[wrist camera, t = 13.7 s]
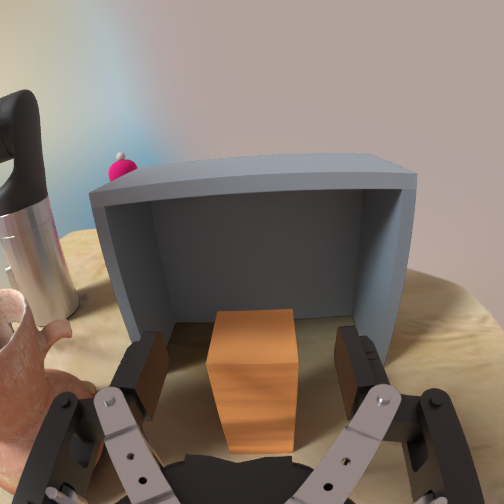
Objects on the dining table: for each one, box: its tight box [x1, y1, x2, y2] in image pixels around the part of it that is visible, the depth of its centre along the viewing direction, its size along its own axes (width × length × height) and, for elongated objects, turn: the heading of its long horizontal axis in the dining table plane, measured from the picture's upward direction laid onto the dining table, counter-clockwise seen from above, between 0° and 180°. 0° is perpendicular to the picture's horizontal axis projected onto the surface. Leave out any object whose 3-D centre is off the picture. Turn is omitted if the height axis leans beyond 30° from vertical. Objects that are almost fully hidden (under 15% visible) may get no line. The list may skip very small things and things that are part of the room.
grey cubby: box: [89, 153, 417, 367], centre depth 29 cm, size 11×24×19 cm, turn 88°
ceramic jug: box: [0, 289, 104, 495], centre depth 15 cm, size 18×14×14 cm
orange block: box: [206, 309, 299, 454], centre depth 20 cm, size 5×5×11 cm
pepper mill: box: [109, 152, 137, 181], centre depth 57 cm, size 7×7×20 cm
